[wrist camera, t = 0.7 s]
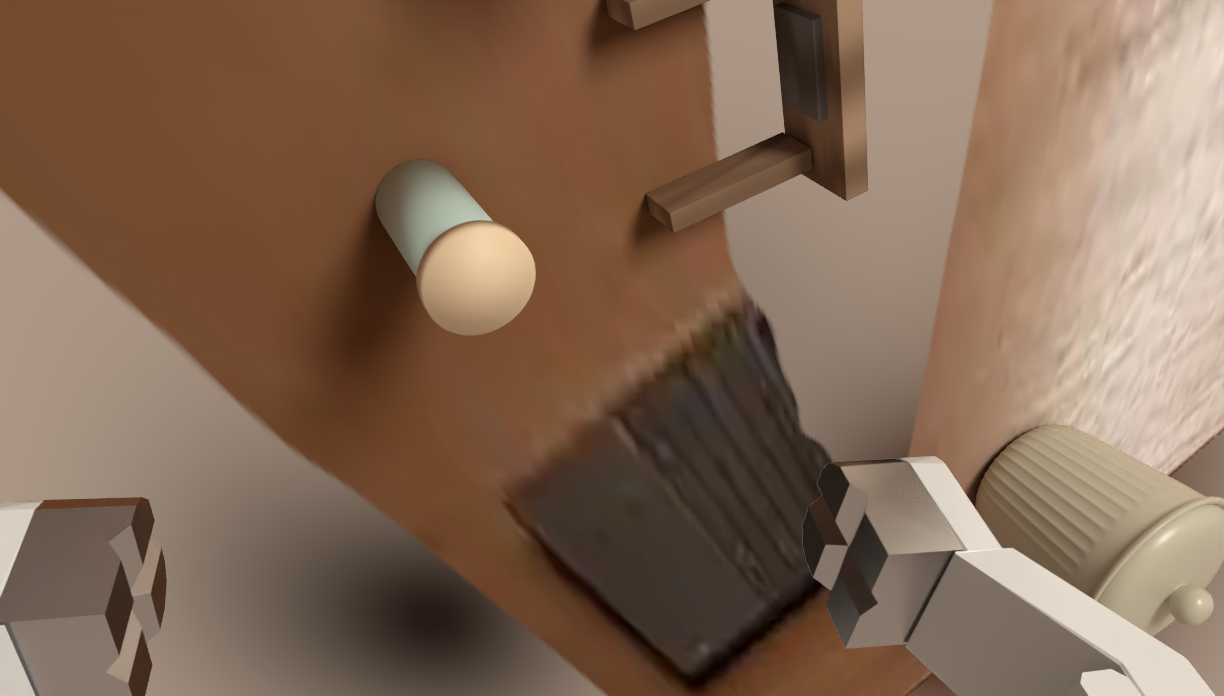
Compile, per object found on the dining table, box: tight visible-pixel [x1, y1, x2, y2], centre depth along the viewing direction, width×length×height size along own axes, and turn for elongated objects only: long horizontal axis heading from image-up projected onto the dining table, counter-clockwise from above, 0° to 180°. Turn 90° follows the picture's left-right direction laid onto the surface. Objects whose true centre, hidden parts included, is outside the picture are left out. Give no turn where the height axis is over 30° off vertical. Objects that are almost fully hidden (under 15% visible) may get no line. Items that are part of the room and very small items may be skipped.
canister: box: [975, 424, 1224, 636], centre depth 86 cm, size 18×18×21 cm
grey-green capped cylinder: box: [375, 159, 536, 335], centre depth 45 cm, size 5×5×10 cm
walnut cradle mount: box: [605, 0, 868, 233], centre depth 51 cm, size 16×12×6 cm
